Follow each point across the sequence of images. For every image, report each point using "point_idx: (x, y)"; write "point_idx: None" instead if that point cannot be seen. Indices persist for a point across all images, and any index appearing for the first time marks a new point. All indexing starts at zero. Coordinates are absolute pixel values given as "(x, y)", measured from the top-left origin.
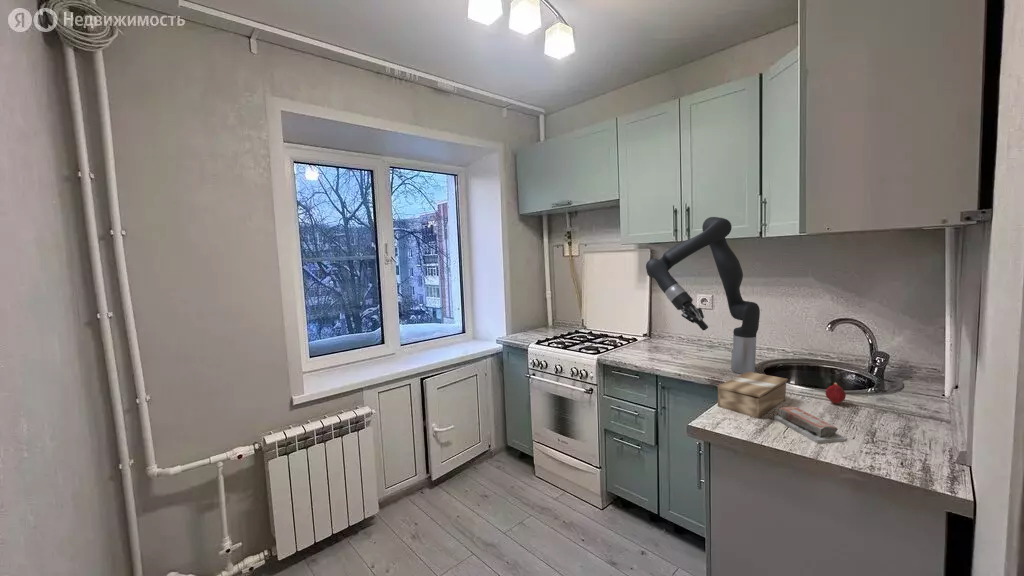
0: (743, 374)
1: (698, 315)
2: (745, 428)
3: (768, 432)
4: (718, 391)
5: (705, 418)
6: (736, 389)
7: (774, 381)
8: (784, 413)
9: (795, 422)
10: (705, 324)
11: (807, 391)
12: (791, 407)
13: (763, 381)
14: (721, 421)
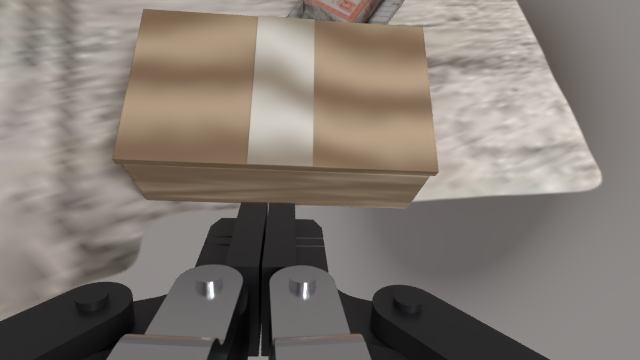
0: (181, 154)
1: (219, 348)
2: (491, 90)
3: (462, 47)
4: (425, 180)
5: (535, 191)
6: (424, 101)
7: (215, 33)
8: (359, 22)
9: (376, 4)
10: (259, 220)
11: (6, 51)
12: (326, 5)
13: (242, 62)
14: (509, 149)
